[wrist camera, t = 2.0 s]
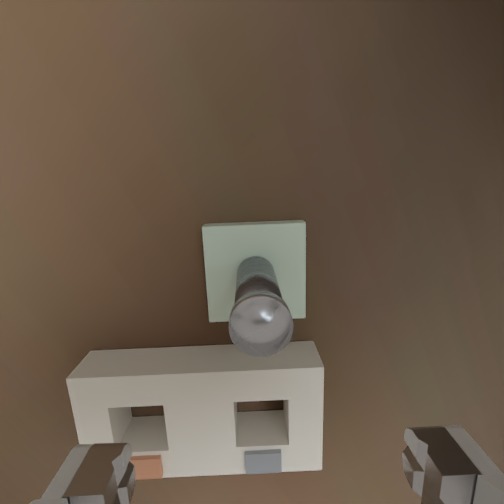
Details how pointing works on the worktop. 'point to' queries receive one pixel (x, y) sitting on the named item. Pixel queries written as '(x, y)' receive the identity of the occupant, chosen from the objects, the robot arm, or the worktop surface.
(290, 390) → the socket board
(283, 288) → the pale green square tile
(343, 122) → the worktop surface
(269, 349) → the plug
